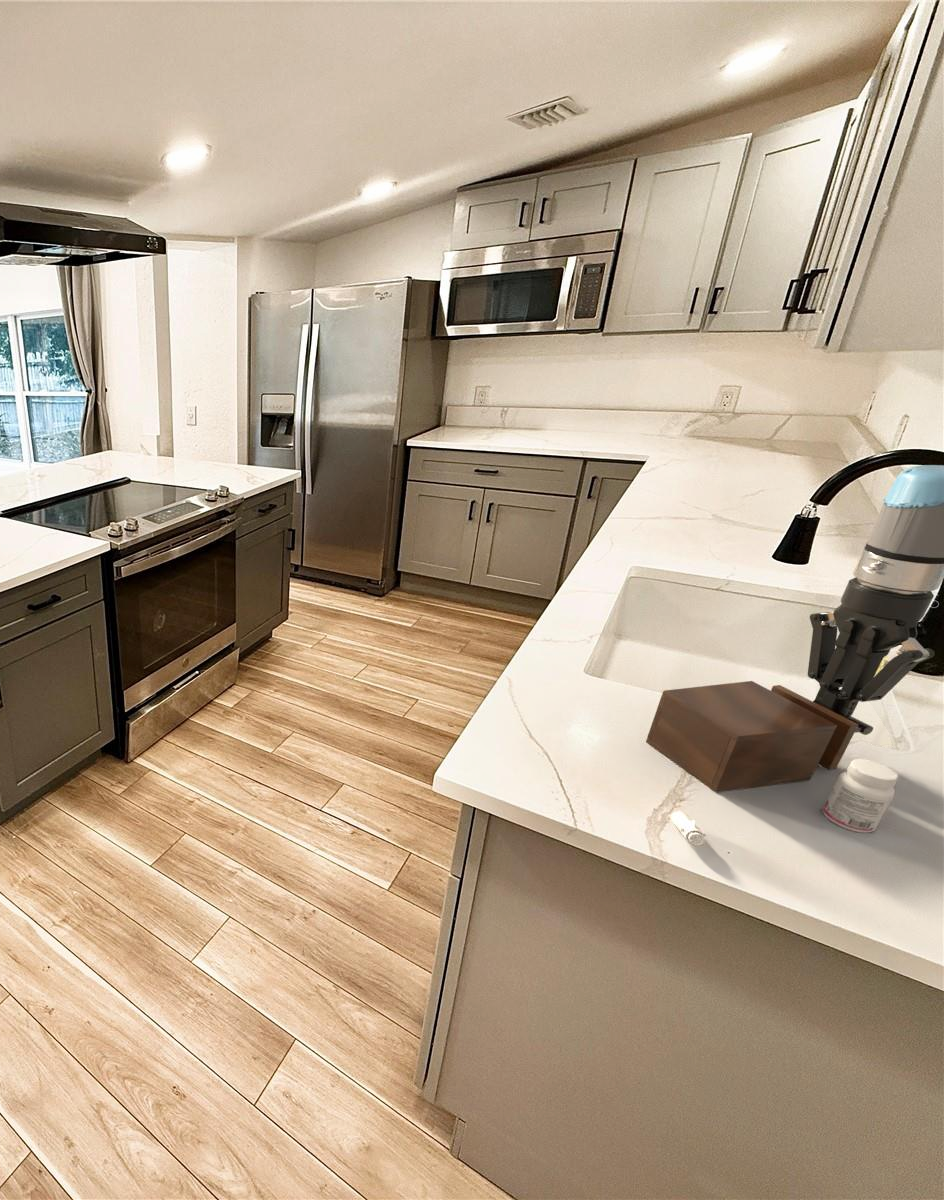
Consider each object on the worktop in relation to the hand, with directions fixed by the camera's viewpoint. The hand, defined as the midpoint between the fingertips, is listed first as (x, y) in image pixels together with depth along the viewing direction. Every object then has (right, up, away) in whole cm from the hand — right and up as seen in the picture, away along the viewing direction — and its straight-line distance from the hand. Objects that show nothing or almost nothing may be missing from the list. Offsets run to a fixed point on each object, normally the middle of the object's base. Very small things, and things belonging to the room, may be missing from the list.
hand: (822, 729), depth 91 cm
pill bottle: (-9, -10, -11) cm, 17 cm away
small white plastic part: (-31, -11, -11) cm, 35 cm away
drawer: (-6, -3, +1) cm, 7 cm away
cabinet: (-14, -5, +1) cm, 15 cm away
